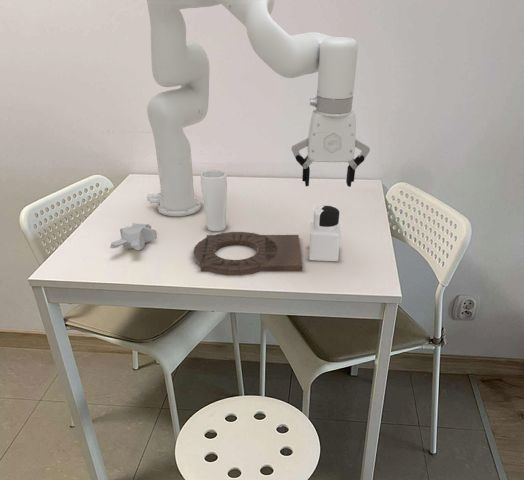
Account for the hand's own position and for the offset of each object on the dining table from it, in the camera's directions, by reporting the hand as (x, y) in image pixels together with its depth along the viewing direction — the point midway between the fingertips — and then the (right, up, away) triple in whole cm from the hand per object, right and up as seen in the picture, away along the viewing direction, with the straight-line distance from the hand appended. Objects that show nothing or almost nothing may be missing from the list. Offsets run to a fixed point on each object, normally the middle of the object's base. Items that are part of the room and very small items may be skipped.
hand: (327, 184), depth 124 cm
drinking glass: (-28, -5, +23) cm, 36 cm away
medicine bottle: (0, -15, +10) cm, 18 cm away
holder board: (-19, -14, +10) cm, 26 cm away
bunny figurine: (-48, -12, +15) cm, 51 cm away
